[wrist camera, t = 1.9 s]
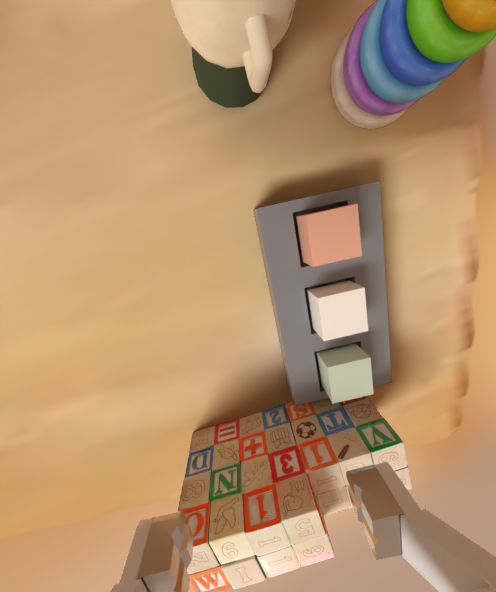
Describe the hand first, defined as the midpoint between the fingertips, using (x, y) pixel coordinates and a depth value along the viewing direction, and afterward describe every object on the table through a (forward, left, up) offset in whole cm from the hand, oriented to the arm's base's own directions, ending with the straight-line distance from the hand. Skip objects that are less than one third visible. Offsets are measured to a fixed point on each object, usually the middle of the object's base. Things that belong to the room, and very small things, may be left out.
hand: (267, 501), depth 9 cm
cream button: (0, +9, -17) cm, 19 cm away
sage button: (+7, +9, -17) cm, 20 cm away
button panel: (0, +9, -19) cm, 21 cm away
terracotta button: (-7, +9, -17) cm, 20 cm away
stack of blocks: (+16, +2, -20) cm, 25 cm away
